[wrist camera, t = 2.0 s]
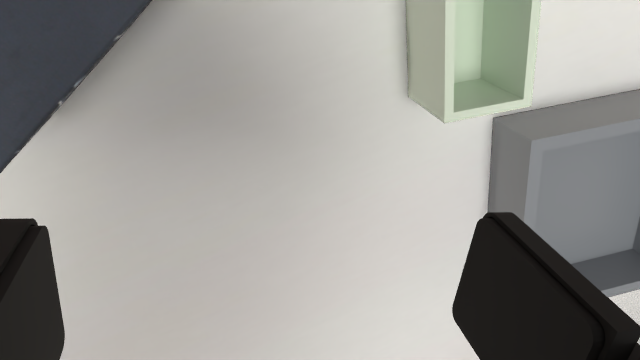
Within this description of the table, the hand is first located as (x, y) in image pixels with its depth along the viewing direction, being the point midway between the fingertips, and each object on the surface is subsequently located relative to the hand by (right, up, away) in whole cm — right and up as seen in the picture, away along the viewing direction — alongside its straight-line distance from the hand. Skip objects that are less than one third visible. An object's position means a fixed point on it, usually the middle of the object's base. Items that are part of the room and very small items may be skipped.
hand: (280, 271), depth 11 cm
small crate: (+10, +13, +23) cm, 28 cm away
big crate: (+23, +1, +32) cm, 40 cm away
